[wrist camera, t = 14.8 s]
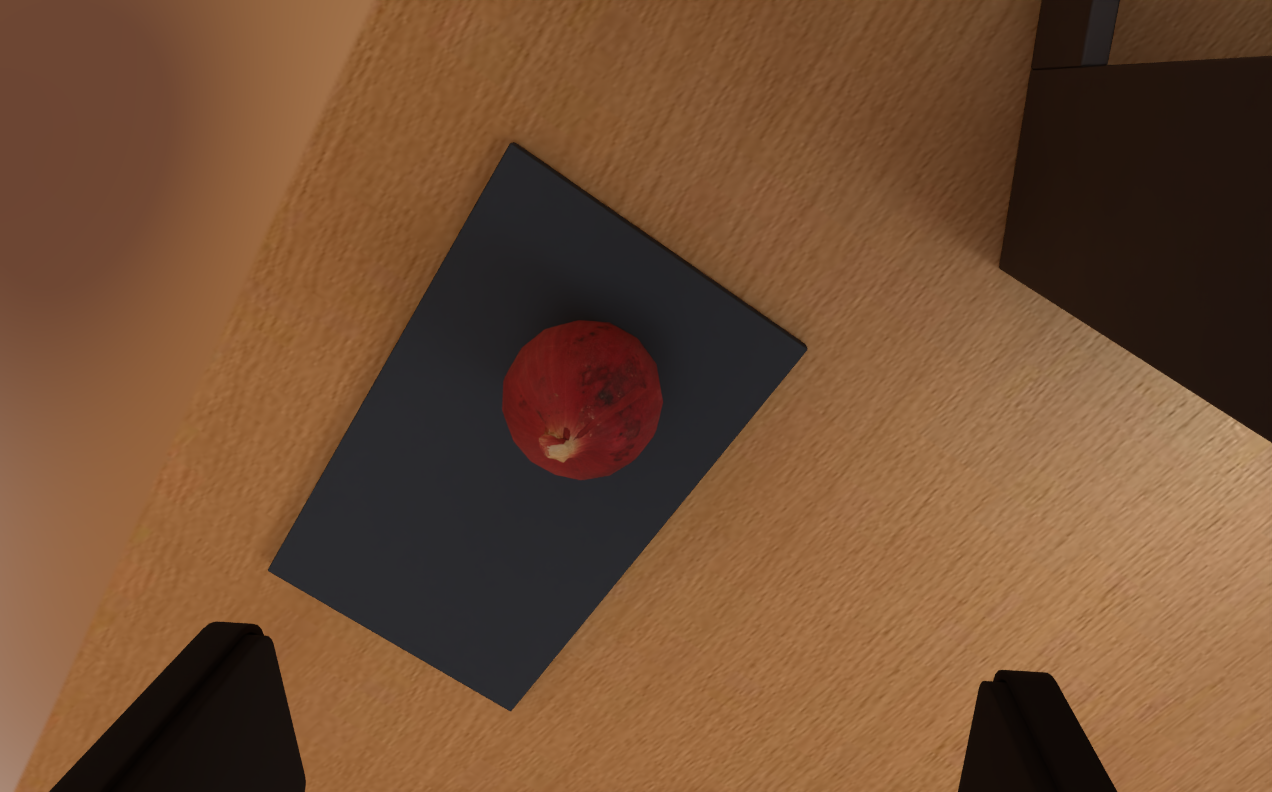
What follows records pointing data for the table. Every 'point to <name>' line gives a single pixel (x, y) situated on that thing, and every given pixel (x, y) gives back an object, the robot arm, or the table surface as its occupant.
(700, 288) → the mat
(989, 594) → the table surface
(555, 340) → the pomegranate
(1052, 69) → the grey legged box
